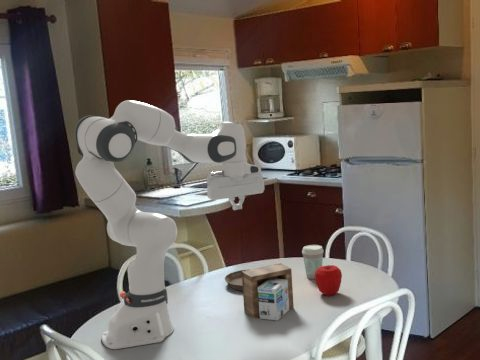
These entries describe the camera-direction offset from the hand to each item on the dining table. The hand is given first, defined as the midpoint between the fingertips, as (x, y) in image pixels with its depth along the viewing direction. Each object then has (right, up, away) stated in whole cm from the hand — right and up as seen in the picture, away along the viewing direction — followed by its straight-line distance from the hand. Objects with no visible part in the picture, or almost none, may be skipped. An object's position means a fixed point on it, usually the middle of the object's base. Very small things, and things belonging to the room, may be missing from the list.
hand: (237, 209), depth 198 cm
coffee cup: (+30, -28, +30) cm, 51 cm away
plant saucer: (+5, -31, +27) cm, 41 cm away
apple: (+33, -31, +10) cm, 46 cm away
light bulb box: (+12, -35, -6) cm, 37 cm away
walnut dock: (+11, -34, -1) cm, 36 cm away
